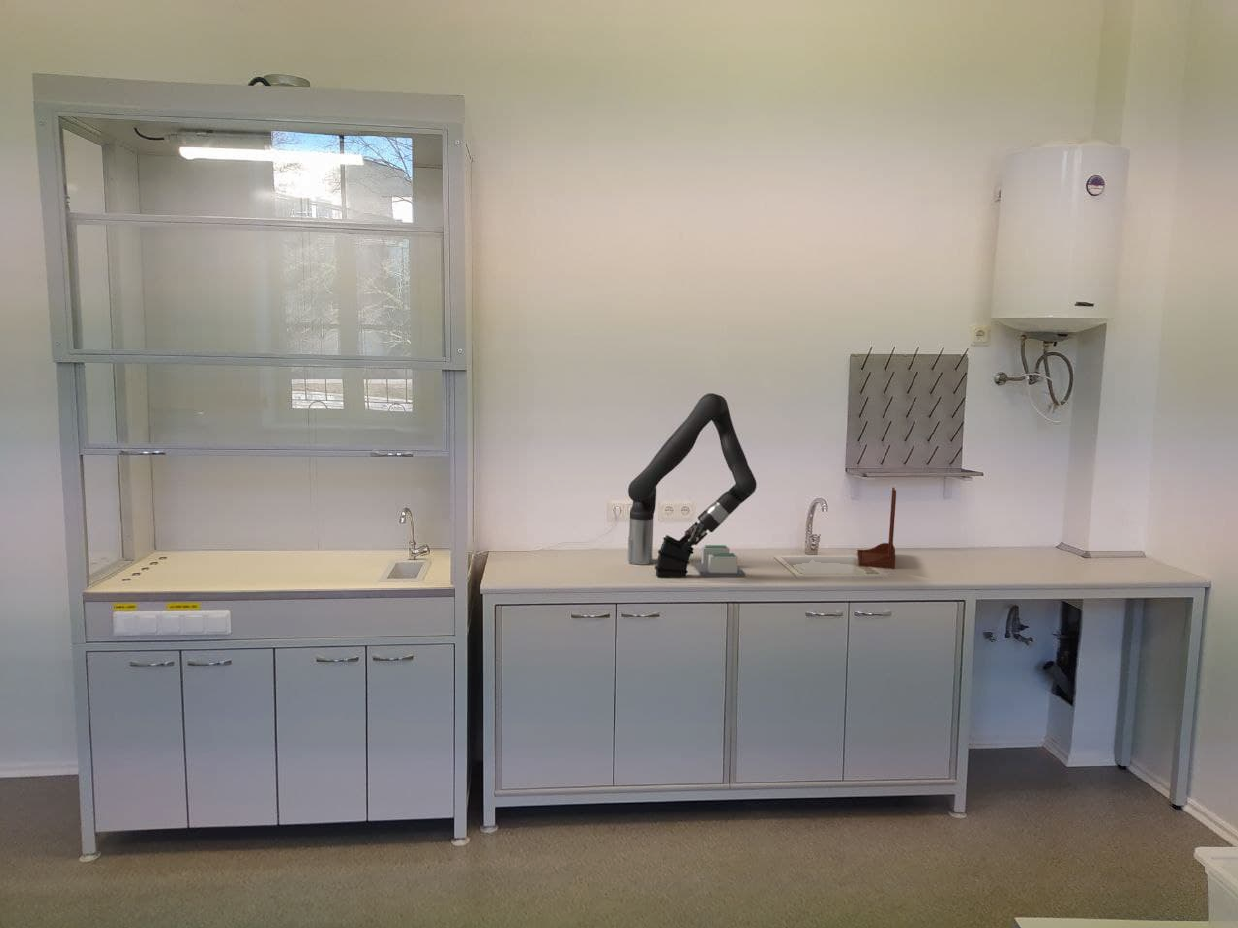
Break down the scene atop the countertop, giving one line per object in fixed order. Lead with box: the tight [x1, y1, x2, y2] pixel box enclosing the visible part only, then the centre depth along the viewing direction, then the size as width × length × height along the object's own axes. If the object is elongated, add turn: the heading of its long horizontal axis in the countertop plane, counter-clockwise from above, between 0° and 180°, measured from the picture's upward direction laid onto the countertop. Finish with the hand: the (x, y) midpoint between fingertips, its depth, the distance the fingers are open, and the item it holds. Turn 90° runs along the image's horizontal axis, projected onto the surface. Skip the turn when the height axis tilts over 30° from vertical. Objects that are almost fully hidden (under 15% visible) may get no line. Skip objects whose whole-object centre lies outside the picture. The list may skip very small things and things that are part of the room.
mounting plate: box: [692, 544, 746, 578], centre depth 287 cm, size 16×17×8 cm
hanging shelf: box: [856, 487, 897, 570], centre depth 311 cm, size 24×13×30 cm, turn 165°
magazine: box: [654, 534, 694, 579], centre depth 278 cm, size 4×13×15 cm, turn 102°
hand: (681, 547), depth 278 cm, fingers open, 8 cm apart
